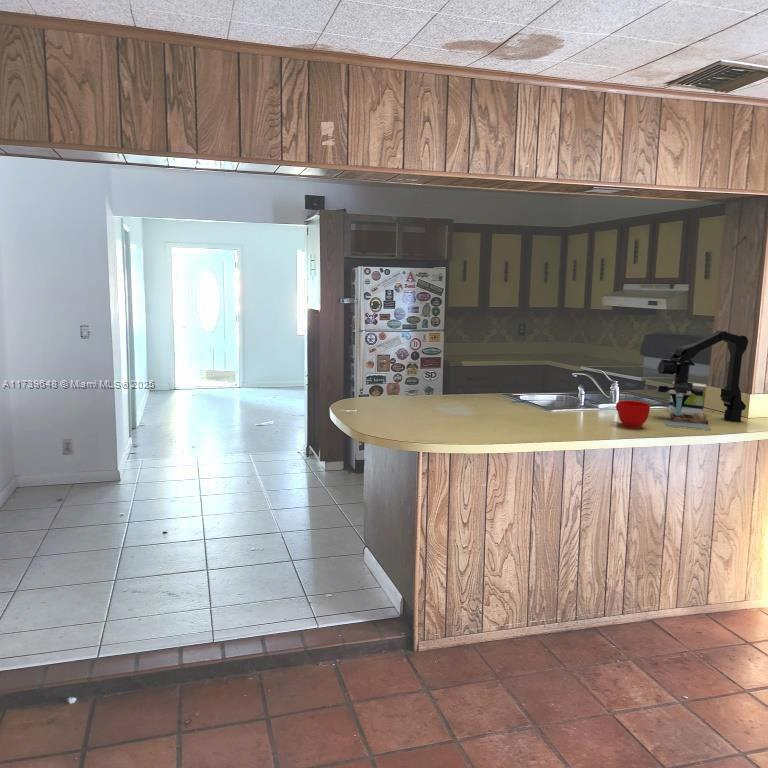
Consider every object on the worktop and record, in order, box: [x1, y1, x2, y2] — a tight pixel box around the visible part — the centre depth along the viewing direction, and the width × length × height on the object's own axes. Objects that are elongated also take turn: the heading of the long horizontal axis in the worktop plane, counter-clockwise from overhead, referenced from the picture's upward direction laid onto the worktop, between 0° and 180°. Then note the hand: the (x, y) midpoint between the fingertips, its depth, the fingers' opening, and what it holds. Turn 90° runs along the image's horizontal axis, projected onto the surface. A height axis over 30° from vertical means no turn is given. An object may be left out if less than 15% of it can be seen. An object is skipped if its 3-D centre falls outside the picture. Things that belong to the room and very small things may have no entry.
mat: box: [663, 420, 712, 432], centre depth 293 cm, size 18×10×1 cm, turn 70°
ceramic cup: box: [615, 400, 651, 429], centre depth 290 cm, size 13×17×10 cm
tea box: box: [668, 380, 708, 415], centre depth 323 cm, size 15×10×15 cm
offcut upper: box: [694, 413, 705, 419], centre depth 303 cm, size 4×6×2 cm, turn 160°
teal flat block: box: [674, 395, 682, 416], centre depth 305 cm, size 2×7×8 cm, turn 160°
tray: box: [669, 412, 709, 425], centre depth 304 cm, size 15×12×2 cm
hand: (677, 408), depth 305 cm, fingers closed on teal flat block, 2 cm apart
